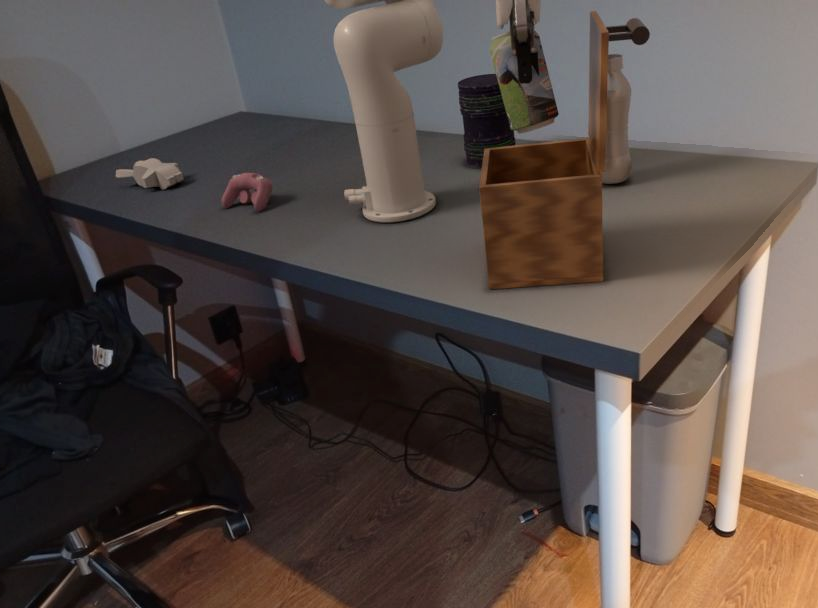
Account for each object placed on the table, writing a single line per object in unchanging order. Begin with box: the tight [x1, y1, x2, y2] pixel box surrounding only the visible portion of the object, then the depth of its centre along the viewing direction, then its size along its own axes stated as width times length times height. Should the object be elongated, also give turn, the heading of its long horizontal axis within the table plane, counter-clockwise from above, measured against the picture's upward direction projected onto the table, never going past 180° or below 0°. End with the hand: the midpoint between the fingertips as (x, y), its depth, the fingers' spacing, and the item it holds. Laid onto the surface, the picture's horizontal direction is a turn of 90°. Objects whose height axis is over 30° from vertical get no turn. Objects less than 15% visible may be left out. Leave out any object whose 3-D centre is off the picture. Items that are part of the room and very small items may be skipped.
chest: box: [478, 137, 604, 290], centre depth 98 cm, size 15×16×14 cm
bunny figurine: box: [115, 157, 185, 190], centre depth 157 cm, size 10×5×15 cm
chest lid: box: [587, 10, 651, 172], centre depth 89 cm, size 15×16×6 cm
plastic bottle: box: [601, 53, 633, 185], centre depth 118 cm, size 6×7×20 cm
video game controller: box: [221, 172, 273, 212], centre depth 137 cm, size 10×5×7 cm, turn 59°
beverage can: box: [489, 29, 559, 134], centre depth 88 cm, size 6×7×12 cm
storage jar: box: [457, 73, 517, 169], centre depth 138 cm, size 10×10×15 cm
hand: (526, 81), depth 90 cm, fingers closed on beverage can, 5 cm apart
